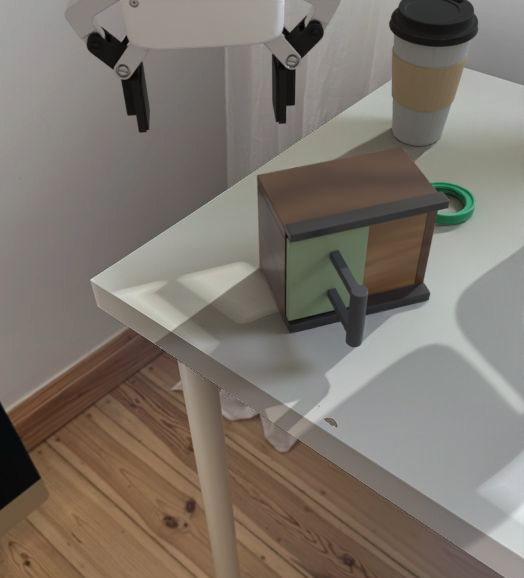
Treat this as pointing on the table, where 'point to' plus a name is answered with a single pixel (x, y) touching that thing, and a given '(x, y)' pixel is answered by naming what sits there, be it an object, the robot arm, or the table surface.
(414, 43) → the coffee cup
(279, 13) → the robot arm
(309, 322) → the closet
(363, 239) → the door
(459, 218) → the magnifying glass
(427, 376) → the table surface
